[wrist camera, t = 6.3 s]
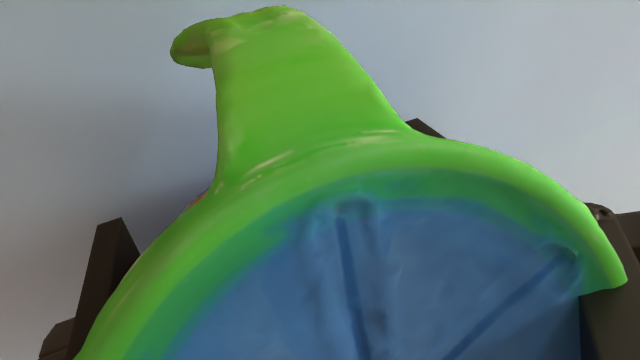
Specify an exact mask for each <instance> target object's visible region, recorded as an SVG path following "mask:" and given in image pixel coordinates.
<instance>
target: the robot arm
mask: <svg viewBox="0 0 640 360" xmlns="http://www.w3.org/2000/svg"><path fill="white" fill-rule="evenodd" d="M405 123H406V124H407V125H408V126H410V127H411V128H412V129H414V130H416V131H418V132H421V133H423V134H426V135H428V136H433V137H437V138H442V139H446V138H445V137H443V136H442V135H440V134H439V133H438V132H436V131H435V130H433V129H432V128H430V127H429V126H428V125H426V124H425V123H423V122H422V121H421V120H419V119H418V118H416V119H413V120H410V121H407V122H405ZM584 204H585V205H586V206H587V207H588V209H589V210H590V212H591V214H592V216H593V217H594V218H595V220H596V221H597V223H598V226H599V227H600V228H601V229H602V231H603V232H604V233H605V235H606V237H607V239H608V241H609V242H610V244H611V245H612V247H613V248H614V250H615V252H616V253H617V255H618V257H619V259H620V261H621V263H622V265H623V268H624V271H625V274H626V276H627V279H628V280H627V282H626V283H625V284H623V285H621V286H619V287H616V288H612V289H602V290H599V291H596V292H592V293H589V294H585V295H581V296H579V323H580V349H581V360H640V211H637V212H630V213H623V214H614V213H613V212H612V211H611V210H610V209H608V208H606V207H604V206H602V205H598V204H594V203H584ZM140 256H141V255H140V253H139V251H138V249H137V247H136V245H135V243H134V241H133V239H132V237H131V235H130V233H129V231H128V229H127V227H126V225H125V223H124V221H123V219H122V217H120V218H117V219H114V220H111V221H108V222H105V223H102V224H99V225H97V229H96V233H95V237H94V241H93V246H92V250H91V254H90V258H89V262H88V266H87V271H86V275H85V279H84V283H83V287H82V291H81V296H80V300H79V304H78V308H77V312H76V316H75V317H74V318H72V319H69V320H66V321H63V322H60V323H58V324H55V326H54V327H53V329H52V330H51V331H50V333H49V334H48V335H47V337H46V338H45V339H44V341H43V344H42V348H41V351H40V354H39V358H40V359H38V360H73V359H74V358H75V356H76V355H77V354H78V353H79V352H80V351H81V349H82V347H83V345H84V343H85V341H86V338H87V336H88V334H89V332H90V330H91V328H92V326H93V324H94V322H95V320H96V317H97V316H98V314H99V313H100V311H101V310H102V308H103V307H104V305H105V304H106V302H107V301H108V299H109V298H110V296H111V295H112V294H113V293H114V291H115V290H116V288H117V287H118V285H119V284H120V282H121V281H122V279H123V278H124V276H125V275H126V273H127V272H128V271H129V269H130V268H131V267H132V265H133V264H134V263H135V261H136V260H137V259H138V258H139V257H140Z"/></svg>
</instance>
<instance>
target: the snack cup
mask: <svg viewBox="0 0 640 360" xmlns="http://www.w3.org/2000/svg"><path fill="white" fill-rule="evenodd" d="M170 55H171V57H172V59H173V60H174V61H175V62H176V63H178V64H180V65H185V66H189V67H195V68H201V69H205V68H212V70H213V74H214V80H215V87H216V110H217V126H218V155H217V165H216V172H215V178H214V180H213V182H212V184H211V185H210V187H209V188H208V189H207V190H206V191H204V192H203V193H201V194H200V195H198V196H196V197H195V198H194V199H193V200H192V201H191V202H190V203H189V204H188V205H187V206H186V207H185V208H184V209H183V210H182V211H181V213H180V215H179V216H178V218H177V219H176V220H175V221H174V222H173V223H172V224H171V225H169V226H168V227H167V228H166V229H165V230H164V231H163V232H162V233H161V234H160V235H159V236H158V237H157V238H156V239H155V240H154V241H153V242H152V244H151V245H150V246H149V247H148V248H147V249H146V250H145V251H144V252H143V253H142V254H141V256H140V257H139V258H138V259H137V260H136V261H135V263H134V264H133V265H132V267H131V268H130V269H129V271H128V272H127V273H126V275H125V276H124V278H123V279H122V281H121V282H120V284H119V285H118V287H117V288H116V290H115V291H114V293H113V294H112V295H111V296H110V298H109V299H108V301H107V302H106V304H105V305H104V307H103V308H102V310H101V311H100V313H99V314H98V316H97V317H96V320H95V322H94V324H93V326H92V328H91V330H90V332H89V334H88V336H87V338H86V341H85V343H84V345H83V347H82V349H81V351H80V352H79V353H78V354H77V355H76V356H75V358H74V359H73V360H581V349H580V323H579V296H581V295H585V294H589V293H592V292H596V291H599V290H602V289H612V288H616V287H619V286H621V285H623V284H625V283H626V282H627V280H628V279H627V276H626V274H625V271H624V268H623V265H622V263H621V261H620V259H619V257H618V255H617V253H616V252H615V250H614V248H613V247H612V245H611V244H610V242H609V241H608V239H607V237H606V235H605V233H604V232H603V231H602V229H601V228H600V227H599V226H598V223H597V221H596V220H595V218H594V217H593V216H592V214H591V212H590V210H589V209H588V207H587V206H586V205H585V204H584V203H582V202H581V201H579V200H578V199H577V198H575V197H574V196H572V195H570V194H569V193H568V191H567V190H565V189H564V188H563V187H562V186H560V185H559V184H558V183H556V182H555V181H554V180H552V179H551V178H549V177H548V176H546V175H545V174H543V173H541V172H539V171H537V170H536V169H535V168H533V167H532V166H531V165H529V164H526V163H524V162H522V161H519V160H517V159H515V158H512V157H510V156H507V155H504V154H502V153H499V152H496V151H493V150H490V149H487V148H484V147H481V146H477V145H473V144H468V143H464V142H459V141H455V140H449V139H442V138H437V137H433V136H428V135H426V134H423V133H421V132H418V131H416V130H414V129H412V128H411V127H410V126H408V125H407V124H406V123H405V122H403V121H402V120H401V119H400V117H399V116H398V114H397V113H396V112H395V110H394V109H393V108H392V106H391V105H390V104H389V103H388V101H387V100H386V98H385V97H384V95H383V94H382V92H381V91H380V90H379V88H378V87H377V86H376V84H375V83H374V81H373V80H372V79H371V78H370V76H369V75H368V74H367V73H366V72H365V71H364V70H363V69H362V67H361V66H360V65H359V63H358V62H357V61H356V59H355V58H354V57H353V56H352V55H351V54H350V53H349V52H348V51H347V50H346V49H345V48H344V47H343V46H342V44H341V43H340V42H339V40H338V39H337V38H336V37H335V36H334V35H333V34H332V33H330V32H329V31H328V30H327V29H326V28H325V27H323V26H322V25H320V24H319V23H318V22H316V21H315V20H314V19H312V18H311V17H310V16H308V15H306V14H305V13H303V12H301V11H299V10H296V9H293V8H290V7H287V6H273V7H265V8H262V9H259V10H256V11H254V12H249V13H240V14H236V15H234V16H231V17H228V18H215V19H210V20H205V21H202V22H199V23H196V24H194V25H192V26H190V27H188V28H186V29H184V30H183V31H182V32H181V33H180V34H179V35H178V36H177V37H176V38H175V39H174V41H173V44H172V47H171V49H170Z"/></svg>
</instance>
